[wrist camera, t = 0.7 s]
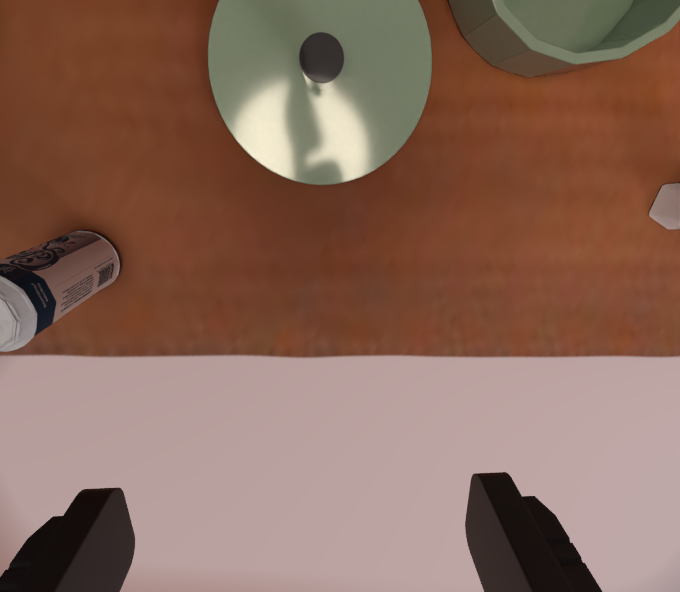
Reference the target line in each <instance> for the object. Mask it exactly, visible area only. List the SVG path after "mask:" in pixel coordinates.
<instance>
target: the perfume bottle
mask: <svg viewBox="0 0 680 592" xmlns="http://www.w3.org/2000/svg"><path fill="white" fill-rule="evenodd" d="M649 216H650V217H651V218H652V219H654V220H655V221H656V222H658V223H659V224H661V225H662V226H663V227H665V228H666V229H680V183H675V184H665V185H663V186H662V187H661V189H660V191H659V193H658V195H657V197H656V199H655V201H654V203H653V205H652V207H651V210H650V212H649Z"/></svg>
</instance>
